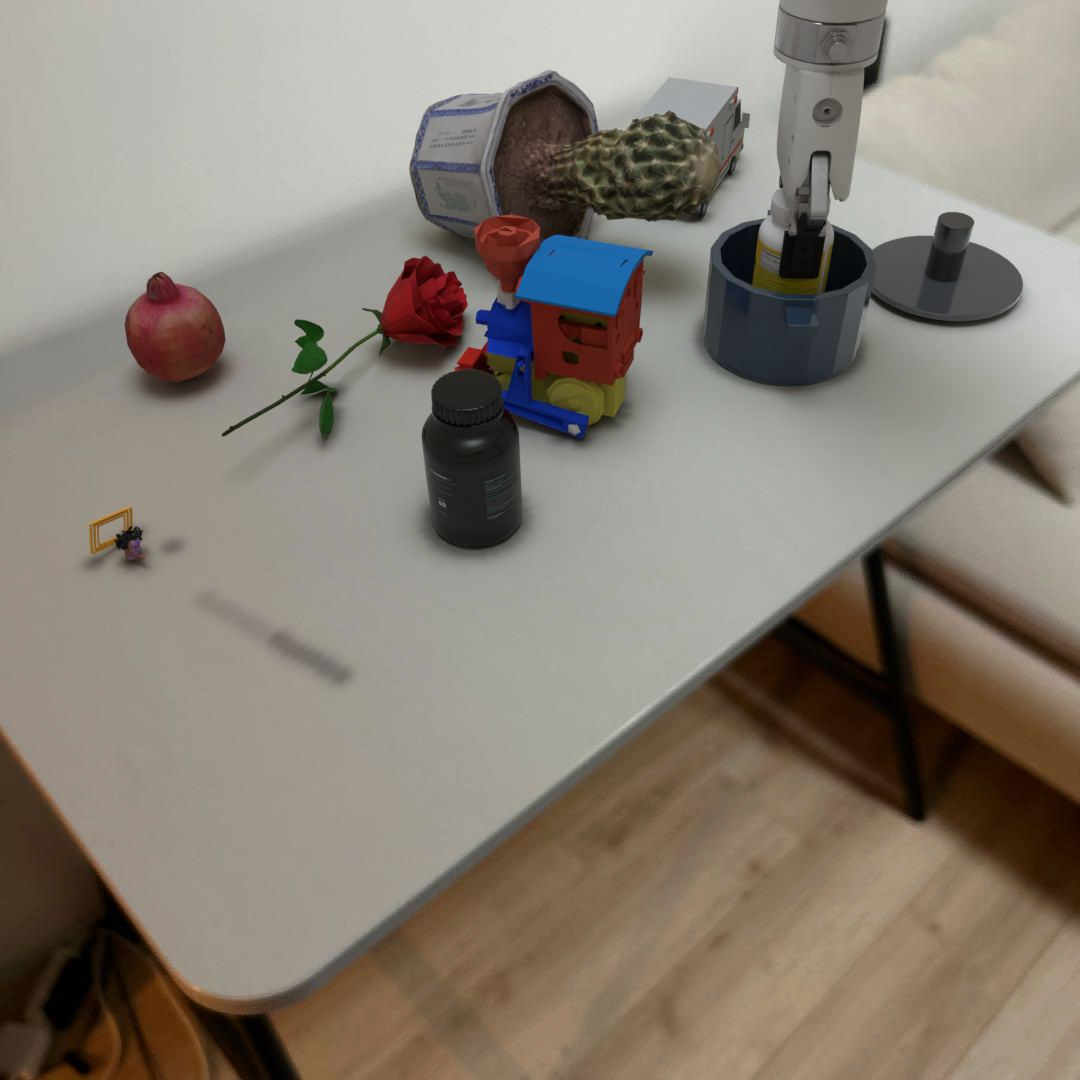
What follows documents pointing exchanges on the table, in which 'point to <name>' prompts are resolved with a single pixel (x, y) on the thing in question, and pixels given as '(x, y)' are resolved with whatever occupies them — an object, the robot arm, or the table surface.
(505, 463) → the supplement bottle
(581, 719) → the table surface
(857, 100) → the robot arm
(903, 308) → the lid
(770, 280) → the pill bottle
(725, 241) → the pot
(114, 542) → the golden frame ornament
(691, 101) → the toy vehicle
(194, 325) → the fruit
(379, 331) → the flower
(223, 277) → the table surface
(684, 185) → the potted plant
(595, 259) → the toy train
